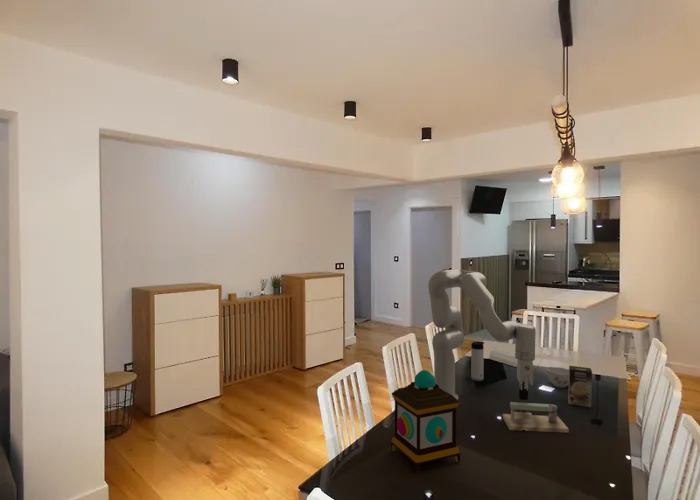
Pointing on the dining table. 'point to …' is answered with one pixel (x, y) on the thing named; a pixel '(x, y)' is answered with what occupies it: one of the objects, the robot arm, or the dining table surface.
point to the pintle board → (538, 423)
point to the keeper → (533, 406)
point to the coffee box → (580, 386)
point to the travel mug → (477, 361)
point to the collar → (521, 416)
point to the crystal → (503, 357)
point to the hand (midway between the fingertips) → (523, 399)
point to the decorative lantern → (425, 421)
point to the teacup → (558, 376)
